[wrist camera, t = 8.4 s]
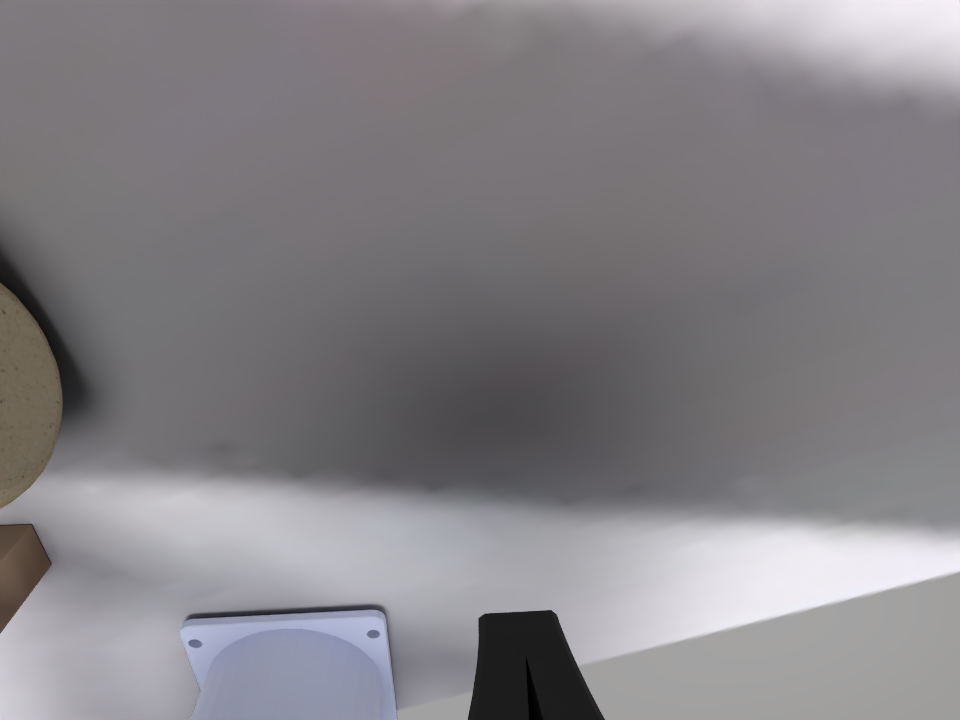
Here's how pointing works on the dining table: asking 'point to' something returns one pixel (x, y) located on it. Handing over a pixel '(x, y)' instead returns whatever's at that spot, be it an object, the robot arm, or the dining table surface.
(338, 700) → the robot arm
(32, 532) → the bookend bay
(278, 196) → the dining table surface
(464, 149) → the dining table surface
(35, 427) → the ceramic mug
